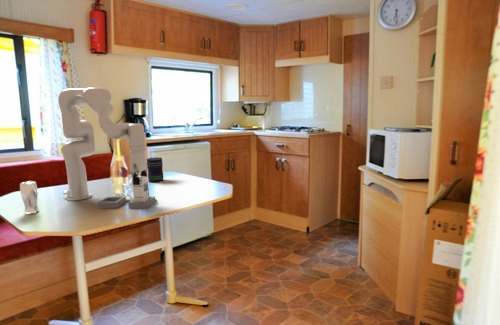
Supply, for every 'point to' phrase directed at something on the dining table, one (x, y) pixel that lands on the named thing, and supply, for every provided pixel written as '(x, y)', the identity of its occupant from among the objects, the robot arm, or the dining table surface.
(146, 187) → the syrup box
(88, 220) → the dining table surface
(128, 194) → the dining table surface
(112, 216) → the dining table surface
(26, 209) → the white vase
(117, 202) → the panel
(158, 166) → the storage jar
